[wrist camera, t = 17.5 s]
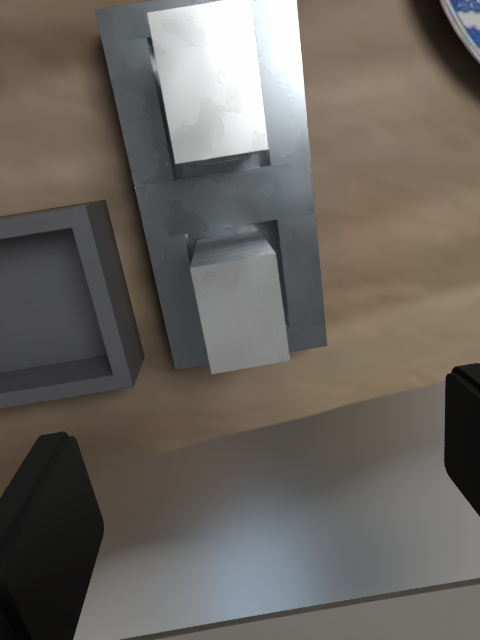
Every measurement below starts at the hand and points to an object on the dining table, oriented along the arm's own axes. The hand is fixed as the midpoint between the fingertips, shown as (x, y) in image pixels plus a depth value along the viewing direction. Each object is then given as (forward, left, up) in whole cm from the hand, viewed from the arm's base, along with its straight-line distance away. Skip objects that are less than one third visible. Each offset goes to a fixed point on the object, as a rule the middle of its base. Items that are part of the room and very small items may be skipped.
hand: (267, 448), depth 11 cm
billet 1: (-10, 0, -19) cm, 21 cm away
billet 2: (0, 0, -19) cm, 19 cm away
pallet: (-5, 0, -20) cm, 20 cm away
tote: (0, -15, -20) cm, 25 cm away
